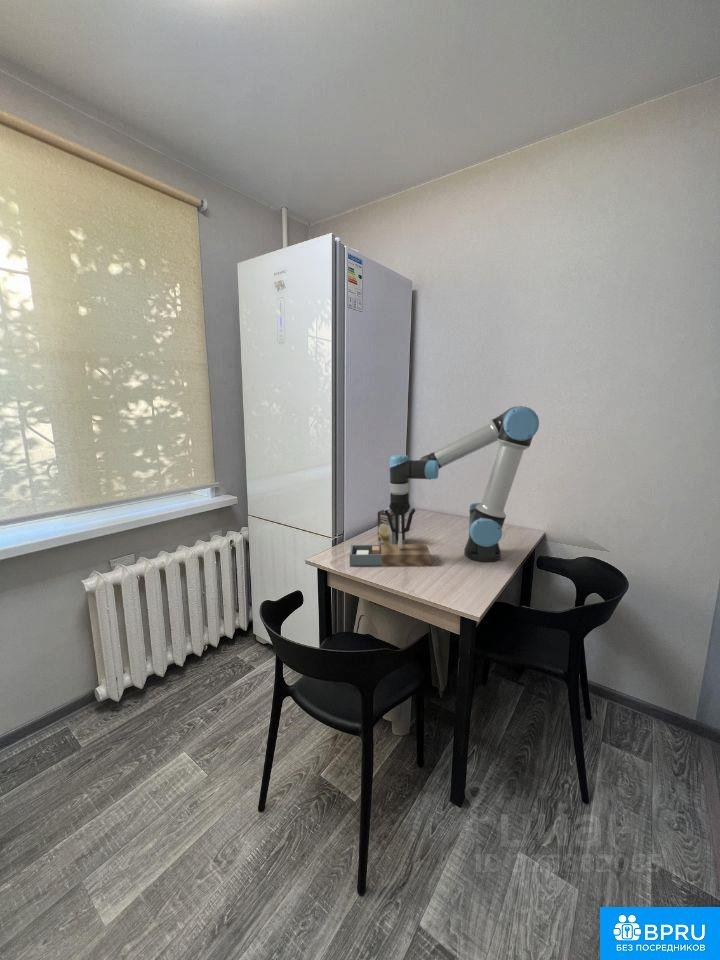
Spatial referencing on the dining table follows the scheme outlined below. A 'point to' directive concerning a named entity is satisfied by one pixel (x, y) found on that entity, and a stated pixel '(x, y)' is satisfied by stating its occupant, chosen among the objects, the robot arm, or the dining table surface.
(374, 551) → the tile terracotta
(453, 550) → the dining table surface
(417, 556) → the wooden tile board
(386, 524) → the coffee box
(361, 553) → the tile cream
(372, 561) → the box
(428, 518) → the dining table surface
